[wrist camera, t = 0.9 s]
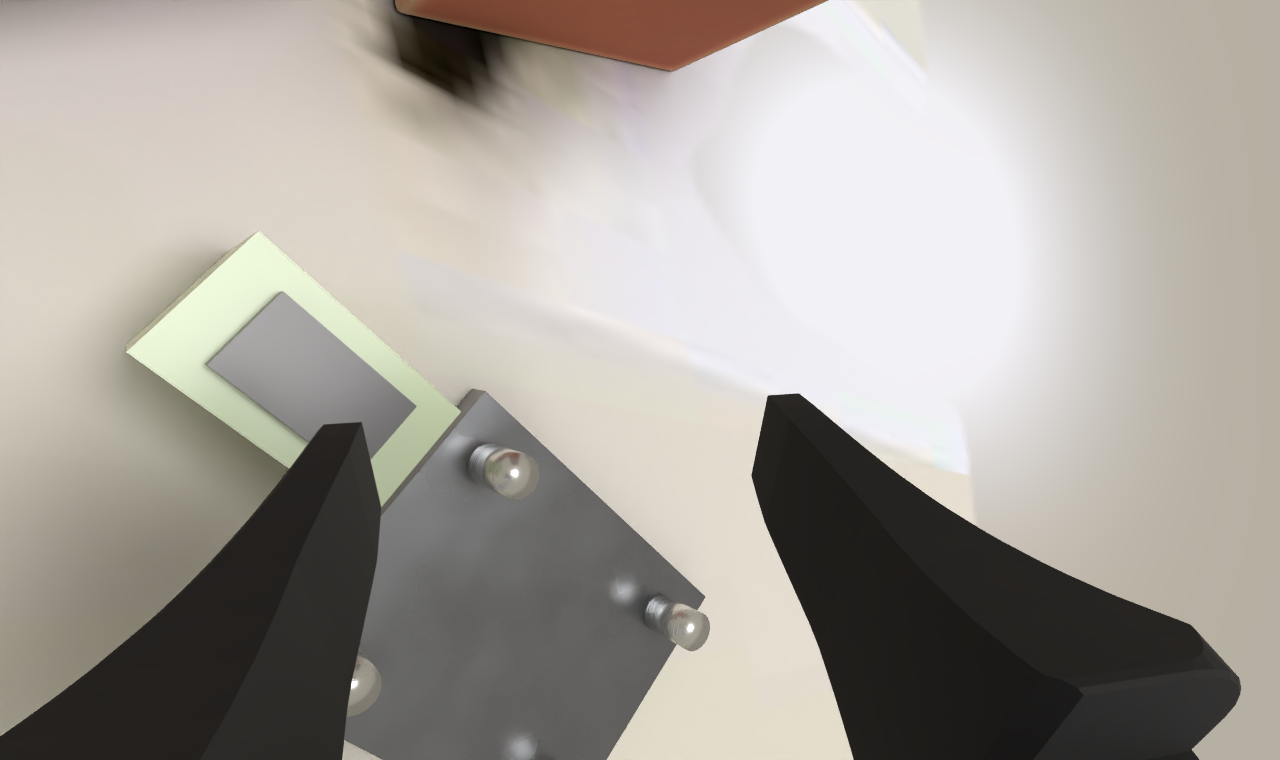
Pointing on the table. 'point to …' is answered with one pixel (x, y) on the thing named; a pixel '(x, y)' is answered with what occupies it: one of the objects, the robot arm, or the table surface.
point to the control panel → (619, 24)
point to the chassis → (509, 607)
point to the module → (291, 364)
